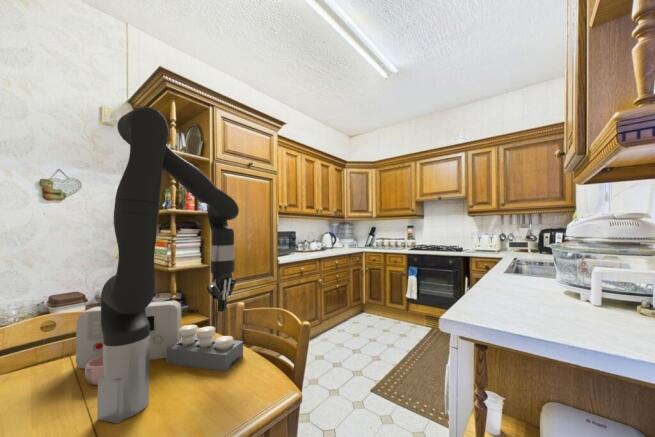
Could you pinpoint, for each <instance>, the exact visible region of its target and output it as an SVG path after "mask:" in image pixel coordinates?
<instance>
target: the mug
mask: <svg viewBox="0 0 655 437" xmlns="http://www.w3.org/2000/svg"><path fill="white" fill-rule="evenodd" d="M84 376H85V379H86V380H87V381H88V383H89V384H91V385H94V386H96V385H97V386H98V379H99V378H100V377H101V376H103V355H100V356H98V357H95V358H93V359H92V360H90V361H89V362H88V363H87V364H86V367H85V368H84Z"/></svg>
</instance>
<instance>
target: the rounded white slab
mask: <svg viewBox="0 0 655 437" xmlns="http://www.w3.org/2000/svg"><path fill="white" fill-rule="evenodd" d="M145 311H146V316H147V319H148V321H149V323H150V361H151V360H158V359H159V360H160V359H165V358H166V354H167V347H169V346H171V345H173V344H175V343H176V342H178V341H180V340H182V337H180V336H179V329H180V328H181V327H182V305H181V303H180V302H179V301H177V300H167V301H155V302H154V301H153V302H152V301H151V303H150V304H149V305H148V306H147V307H146V308H145ZM75 326H76V329H75V330H76V332H75V333H76V334H75V337H76V338H75V341H76V342H75V364H76V366H77V367H78V368H80V369H85V367H86V364H87V363H88V362H89V361H90V360H92V359H93V358H95V357H98V356H100V355H103V332H102V328H101V306H94V307H91V308H89V309H87V310H84V311H83V312H82V313H80V314H79V315H78V316H77V318H76V324H75Z"/></svg>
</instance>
